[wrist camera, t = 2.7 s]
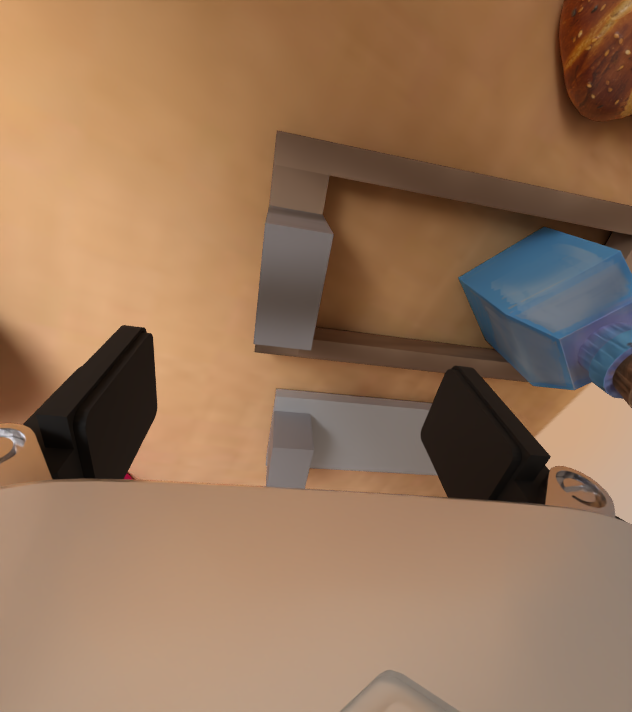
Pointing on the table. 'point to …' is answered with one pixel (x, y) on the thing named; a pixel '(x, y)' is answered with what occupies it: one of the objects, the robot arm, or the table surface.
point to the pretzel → (598, 56)
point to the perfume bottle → (558, 311)
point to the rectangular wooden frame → (314, 239)
